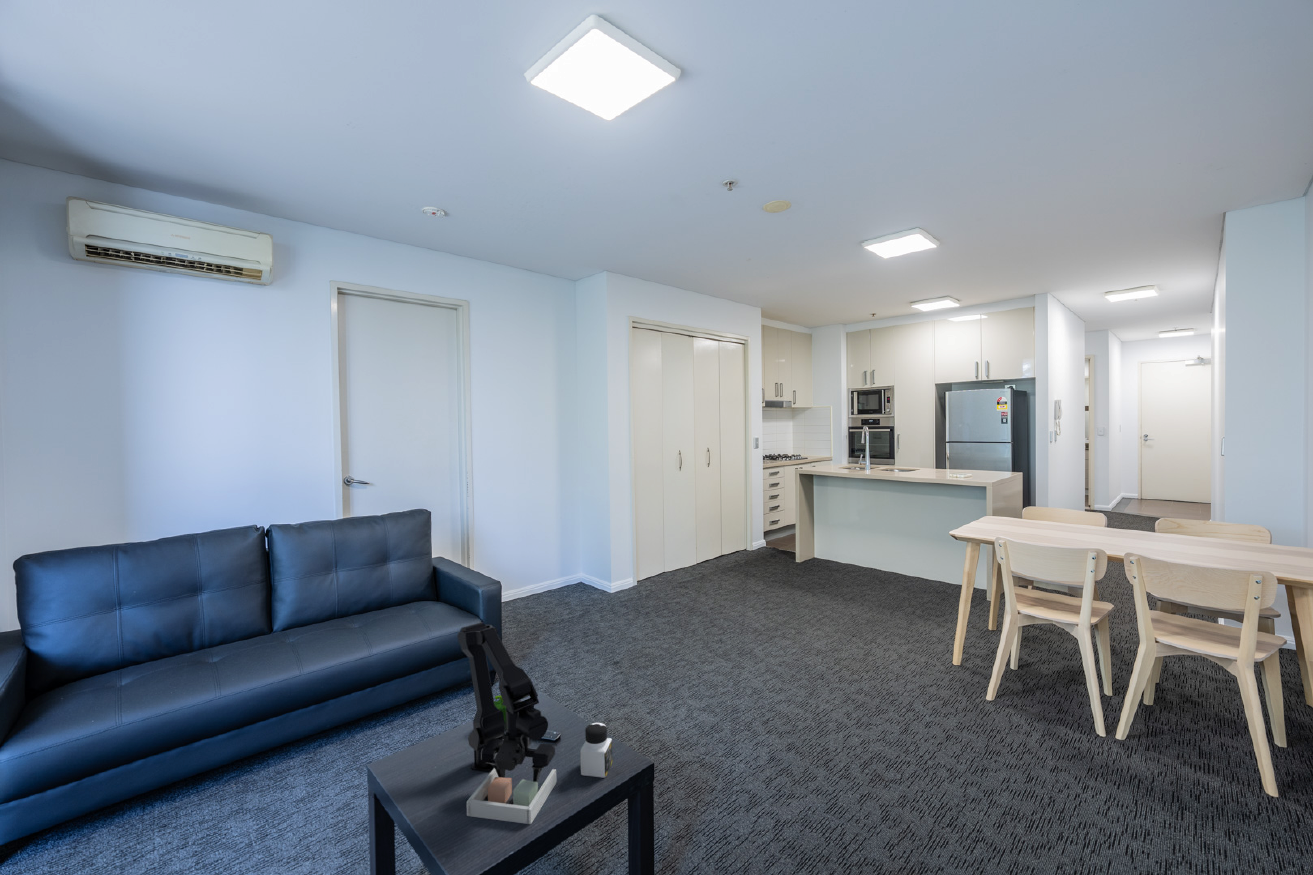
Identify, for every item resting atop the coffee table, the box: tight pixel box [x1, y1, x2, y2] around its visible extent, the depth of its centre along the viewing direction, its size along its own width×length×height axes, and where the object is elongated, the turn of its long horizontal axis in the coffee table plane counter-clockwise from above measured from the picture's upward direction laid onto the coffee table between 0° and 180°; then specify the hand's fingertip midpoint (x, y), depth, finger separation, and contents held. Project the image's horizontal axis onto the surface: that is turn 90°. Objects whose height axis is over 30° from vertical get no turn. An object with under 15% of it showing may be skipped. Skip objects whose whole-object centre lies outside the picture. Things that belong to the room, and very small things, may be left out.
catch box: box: [466, 768, 557, 825], centre depth 140 cm, size 17×16×4 cm
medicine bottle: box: [579, 722, 613, 779], centre depth 151 cm, size 7×7×12 cm
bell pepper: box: [494, 695, 506, 723], centre depth 176 cm, size 8×8×10 cm
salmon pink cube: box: [487, 777, 513, 804], centre depth 140 cm, size 4×4×4 cm
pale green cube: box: [512, 778, 539, 806], centre depth 139 cm, size 4×4×4 cm
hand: (518, 784), depth 143 cm, fingers open, 9 cm apart
